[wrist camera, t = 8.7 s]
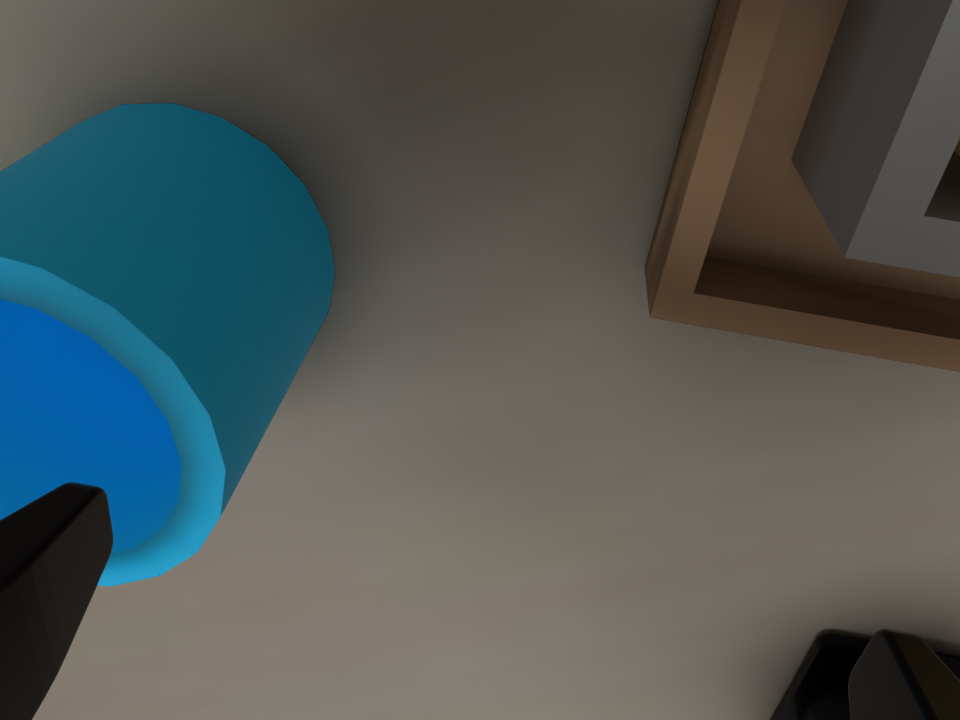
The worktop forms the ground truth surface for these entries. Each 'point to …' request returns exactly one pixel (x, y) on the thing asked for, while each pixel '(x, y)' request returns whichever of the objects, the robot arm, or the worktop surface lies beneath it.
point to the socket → (889, 135)
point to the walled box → (778, 208)
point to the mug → (151, 319)
